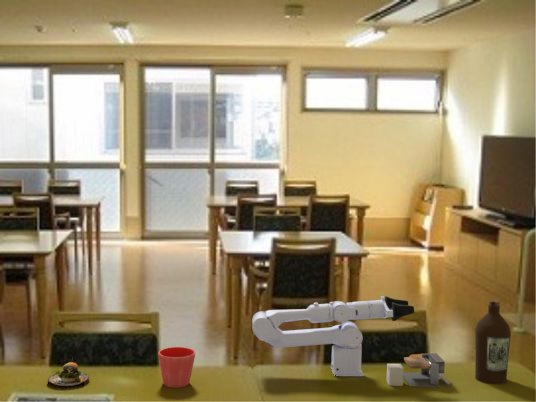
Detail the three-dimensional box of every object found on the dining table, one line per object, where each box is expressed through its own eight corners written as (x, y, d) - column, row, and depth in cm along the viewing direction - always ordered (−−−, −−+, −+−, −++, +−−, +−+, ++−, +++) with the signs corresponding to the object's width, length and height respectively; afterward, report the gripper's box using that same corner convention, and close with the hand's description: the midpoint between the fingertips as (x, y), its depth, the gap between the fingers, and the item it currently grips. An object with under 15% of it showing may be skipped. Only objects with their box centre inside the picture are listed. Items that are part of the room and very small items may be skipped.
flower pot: (188, 391, 203) (188, 358, 202) (152, 387, 205) (153, 355, 204) (199, 379, 213) (199, 348, 212) (165, 376, 215) (165, 345, 215)
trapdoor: (410, 373, 212) (410, 361, 212) (403, 364, 221) (404, 352, 221) (444, 373, 213) (444, 361, 212) (436, 364, 222) (436, 353, 221)
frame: (430, 386, 211) (431, 364, 211) (420, 374, 223) (421, 353, 223) (450, 386, 212) (451, 364, 211) (439, 374, 223) (440, 353, 223)
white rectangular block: (389, 385, 212) (389, 367, 211) (386, 381, 216) (386, 363, 215) (402, 385, 212) (403, 368, 211) (399, 381, 216) (400, 363, 216)
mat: (410, 387, 210) (410, 385, 210) (400, 373, 223) (400, 372, 223) (439, 387, 211) (439, 386, 211) (428, 373, 224) (428, 372, 224)
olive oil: (467, 374, 224) (471, 297, 222) (498, 373, 226) (502, 297, 224) (482, 385, 214) (485, 305, 212) (514, 384, 215) (518, 304, 213)
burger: (39, 385, 205) (39, 360, 205) (68, 374, 216) (68, 350, 215) (69, 392, 200) (70, 367, 199) (97, 381, 210) (98, 357, 210)
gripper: (372, 302, 214) (415, 299, 215) (364, 292, 229) (405, 290, 229) (373, 324, 215) (416, 321, 215) (365, 314, 229) (406, 311, 229)
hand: (410, 306), depth 222 cm, fingers open, 7 cm apart
